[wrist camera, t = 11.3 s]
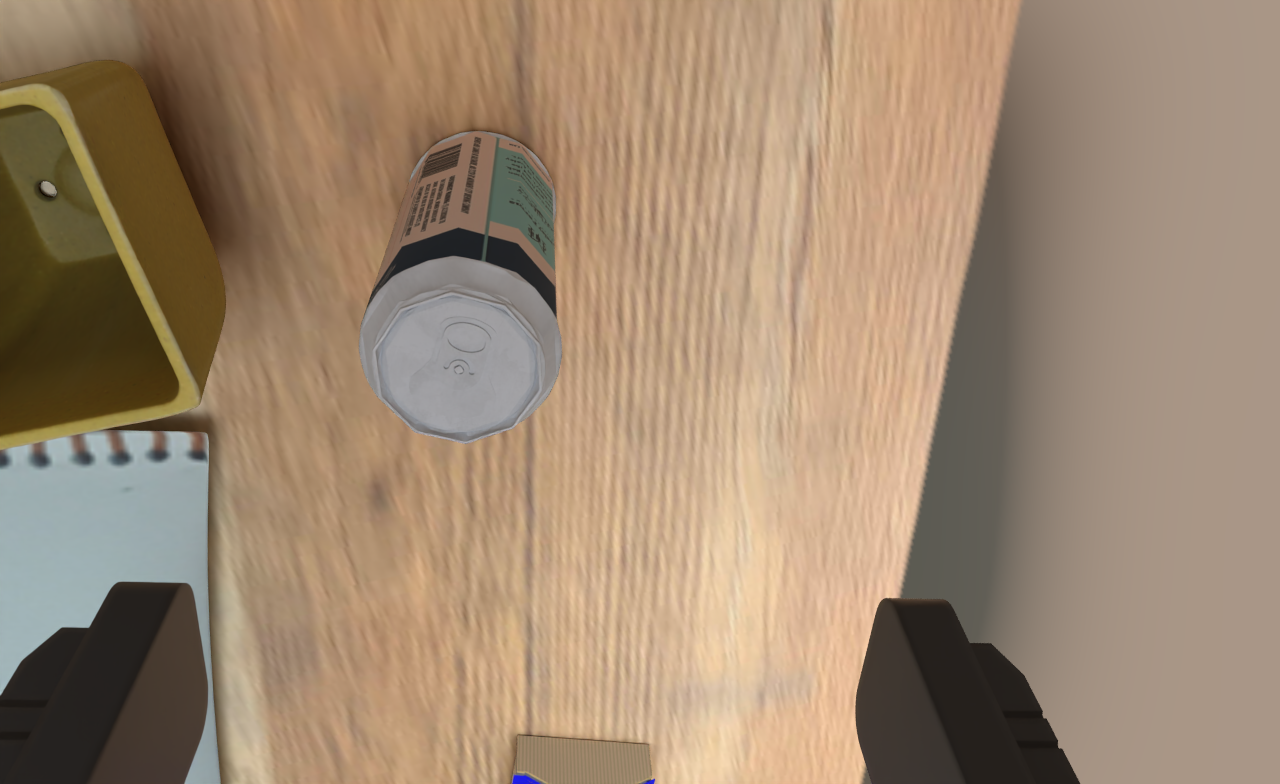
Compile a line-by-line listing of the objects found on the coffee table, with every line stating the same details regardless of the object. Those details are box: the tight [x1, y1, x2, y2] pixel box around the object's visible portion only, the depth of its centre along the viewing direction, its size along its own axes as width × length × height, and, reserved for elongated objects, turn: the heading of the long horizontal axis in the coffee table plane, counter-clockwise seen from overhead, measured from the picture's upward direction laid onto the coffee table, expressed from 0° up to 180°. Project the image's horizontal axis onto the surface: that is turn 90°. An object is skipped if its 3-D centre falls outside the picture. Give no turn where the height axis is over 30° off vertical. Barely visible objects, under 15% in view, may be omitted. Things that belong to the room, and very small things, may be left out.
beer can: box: [359, 131, 562, 444], centre depth 30 cm, size 5×5×12 cm
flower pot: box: [0, 60, 226, 450], centre depth 30 cm, size 9×9×9 cm
